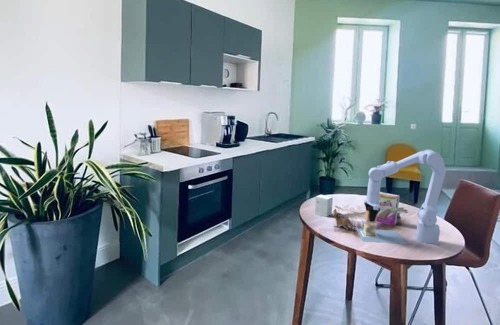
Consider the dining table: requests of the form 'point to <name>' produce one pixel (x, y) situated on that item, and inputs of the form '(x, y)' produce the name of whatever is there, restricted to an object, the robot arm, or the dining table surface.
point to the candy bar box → (388, 208)
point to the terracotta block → (368, 218)
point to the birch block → (369, 229)
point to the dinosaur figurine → (342, 220)
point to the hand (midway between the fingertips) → (370, 219)
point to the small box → (323, 205)
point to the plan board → (382, 236)
